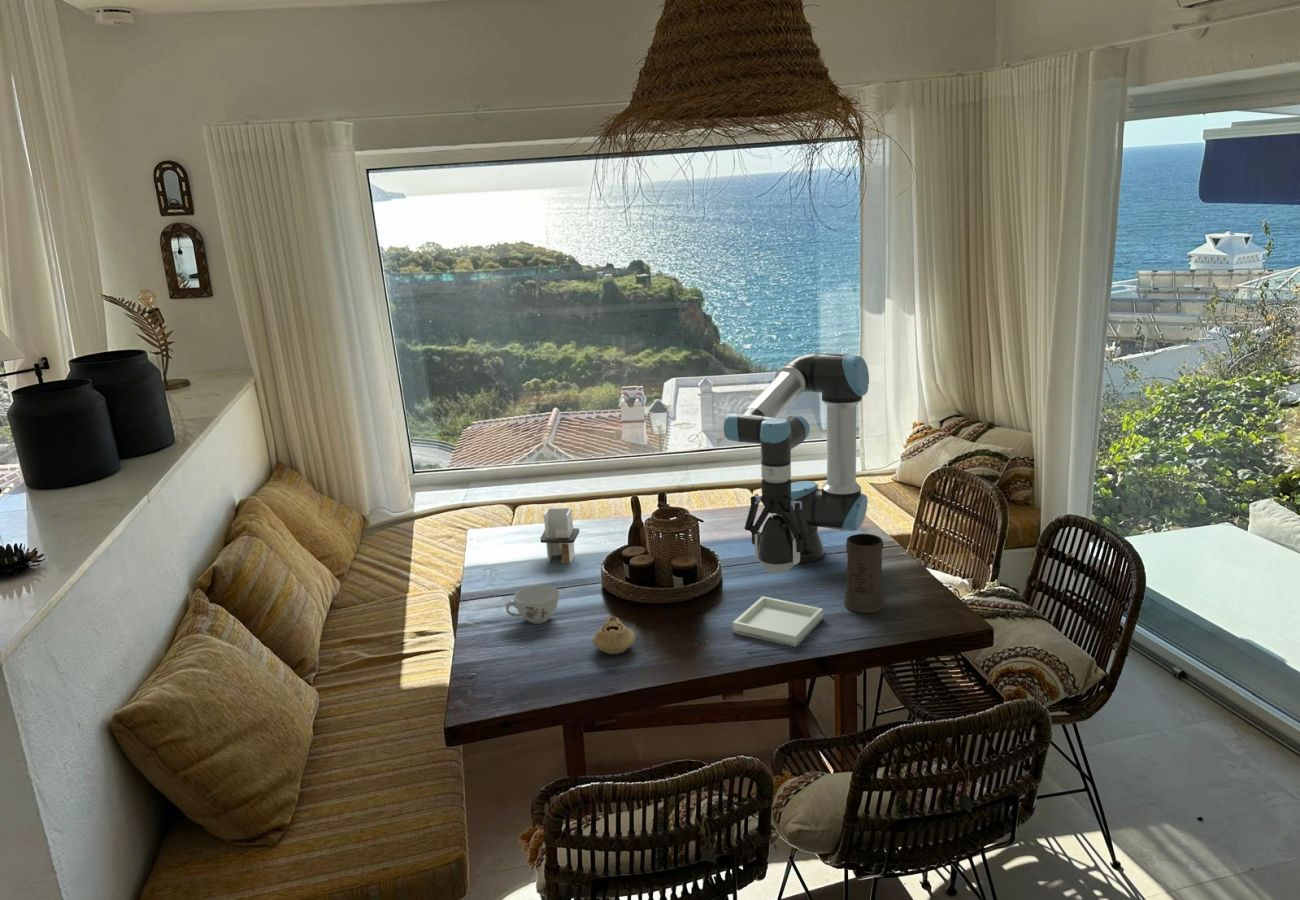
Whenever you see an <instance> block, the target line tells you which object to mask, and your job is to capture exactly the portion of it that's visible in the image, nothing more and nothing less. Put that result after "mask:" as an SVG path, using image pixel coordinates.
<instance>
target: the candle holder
mask: <svg viewBox="0 0 1300 900" xmlns="http://www.w3.org/2000/svg"><path fill="white" fill-rule="evenodd" d="M543 521H544V531H543V533H542V535H541V536H540V543H543V544H545V545H546V555H547V563H550V562H551V559H552V558H553V556H561V561H560V564H567V563H568V564H571V563H572V561H573V559H574V557H575V555H576V552H575V542H576V540H577V537H578V536H579V533H580V528H577V527H576V528H574V524H573V523H574V522H573V509H572V507H548V508H547V509H546V511H545V513H543Z"/></svg>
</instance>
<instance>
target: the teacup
mask: <svg viewBox="0 0 1300 900" xmlns="http://www.w3.org/2000/svg"><path fill="white" fill-rule="evenodd" d="M559 597H560V590H559V589H557V588H556V587H554V586H550V585H545V584H544V585H543V584H534V585H529V586H526V587H523V588H520V589H519V590H517V591H516V592H515V593H514V595H513V600H514V601H508V602H507V603H506V605H505V610H506V613H507V614H508V615H509V616H511V617H522V618H523V619H525V620H526V621H528V622H529V623H531V624H536V625H538V624H540V625H541V624H544V623H547V621H549V620H550V618H551V617H552V616H553V615H554V613H555V611H556V609H557V607H558V603H559ZM512 606H513V607H514V609H516V610H517V611H518V613H515V612H511V611H510V609H509V608H510V607H512Z"/></svg>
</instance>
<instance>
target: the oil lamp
mask: <svg viewBox="0 0 1300 900" xmlns="http://www.w3.org/2000/svg"><path fill="white" fill-rule="evenodd" d="M635 641H636V634H635V633H634V631H633V630H632V629H631V628H629V627H628V626H626V625H625V624H623V622H622V621H621V620H620V619H619V618H618V617H616V616H609V617H607V619H606V622H605V623H604V624H603V625H601V627H600V628H599V629H598V631H597V632H596V633H595V634H594V636H593V640H592V642H593V645H594V646H595V647H596V648H597V649H598V650H600V651H602V652H604V653H606V654H608V655H618V654H622V653H624V652H625V651H626V650H627V649H629V648H630V647H631V646H632V645H633V644H634V643H635Z"/></svg>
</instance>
